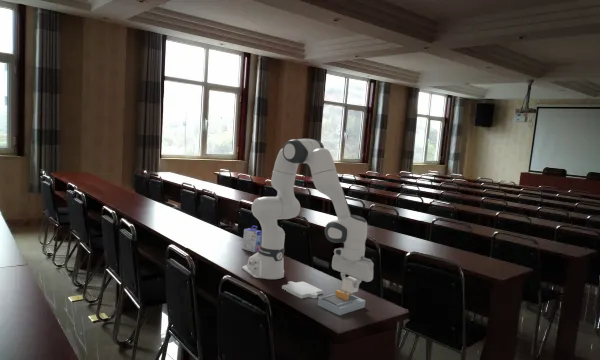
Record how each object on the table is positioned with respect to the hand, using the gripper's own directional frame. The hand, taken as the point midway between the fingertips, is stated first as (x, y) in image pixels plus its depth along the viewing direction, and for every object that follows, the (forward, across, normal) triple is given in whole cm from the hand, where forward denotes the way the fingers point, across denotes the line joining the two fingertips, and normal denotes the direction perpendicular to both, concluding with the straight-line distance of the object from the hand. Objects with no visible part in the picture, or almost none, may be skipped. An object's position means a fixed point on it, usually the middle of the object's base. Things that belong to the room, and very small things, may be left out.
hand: (350, 285), depth 185 cm
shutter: (+5, 0, +8) cm, 9 cm away
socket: (+8, 0, +4) cm, 9 cm away
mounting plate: (+9, +21, +7) cm, 24 cm away
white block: (+4, 0, 0) cm, 4 cm away
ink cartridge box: (+8, +84, -13) cm, 86 cm away
